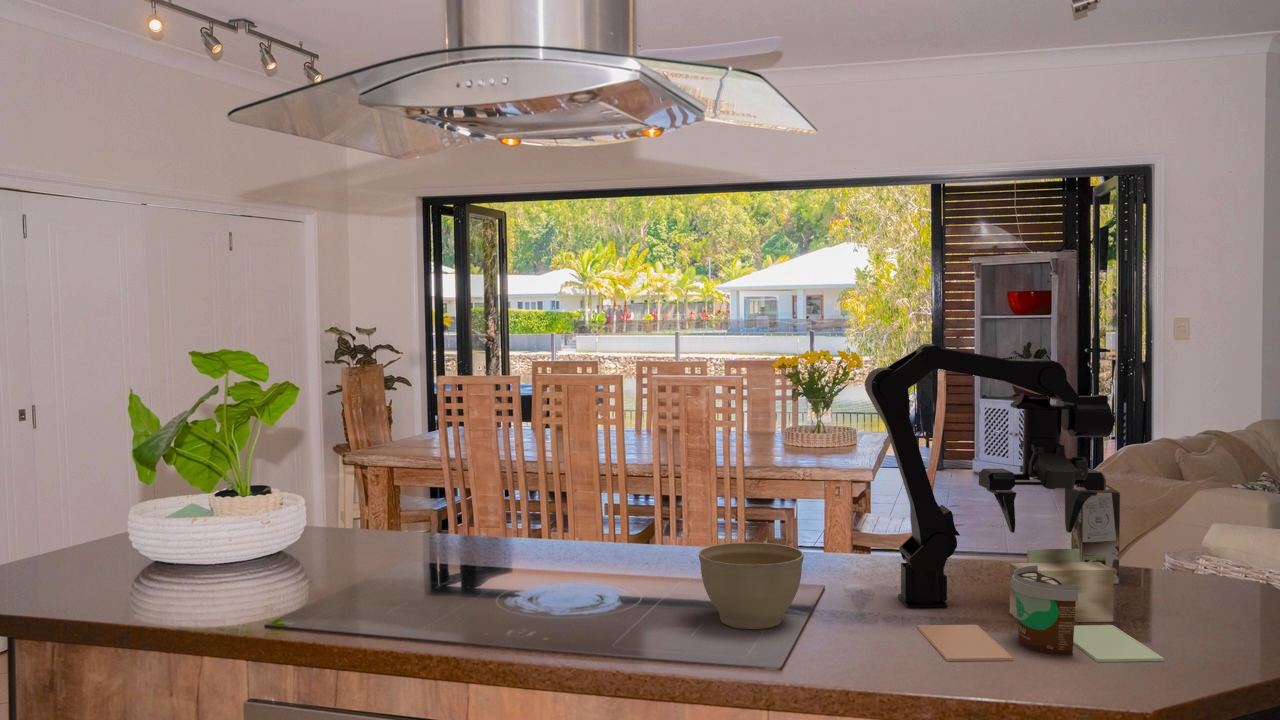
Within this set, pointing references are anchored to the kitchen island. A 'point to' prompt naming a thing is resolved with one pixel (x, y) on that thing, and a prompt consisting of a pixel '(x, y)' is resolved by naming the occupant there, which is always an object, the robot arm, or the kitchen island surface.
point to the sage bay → (1111, 644)
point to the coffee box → (1099, 530)
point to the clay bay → (964, 643)
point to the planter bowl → (751, 582)
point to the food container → (1044, 611)
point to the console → (1074, 581)
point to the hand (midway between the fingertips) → (1040, 532)
